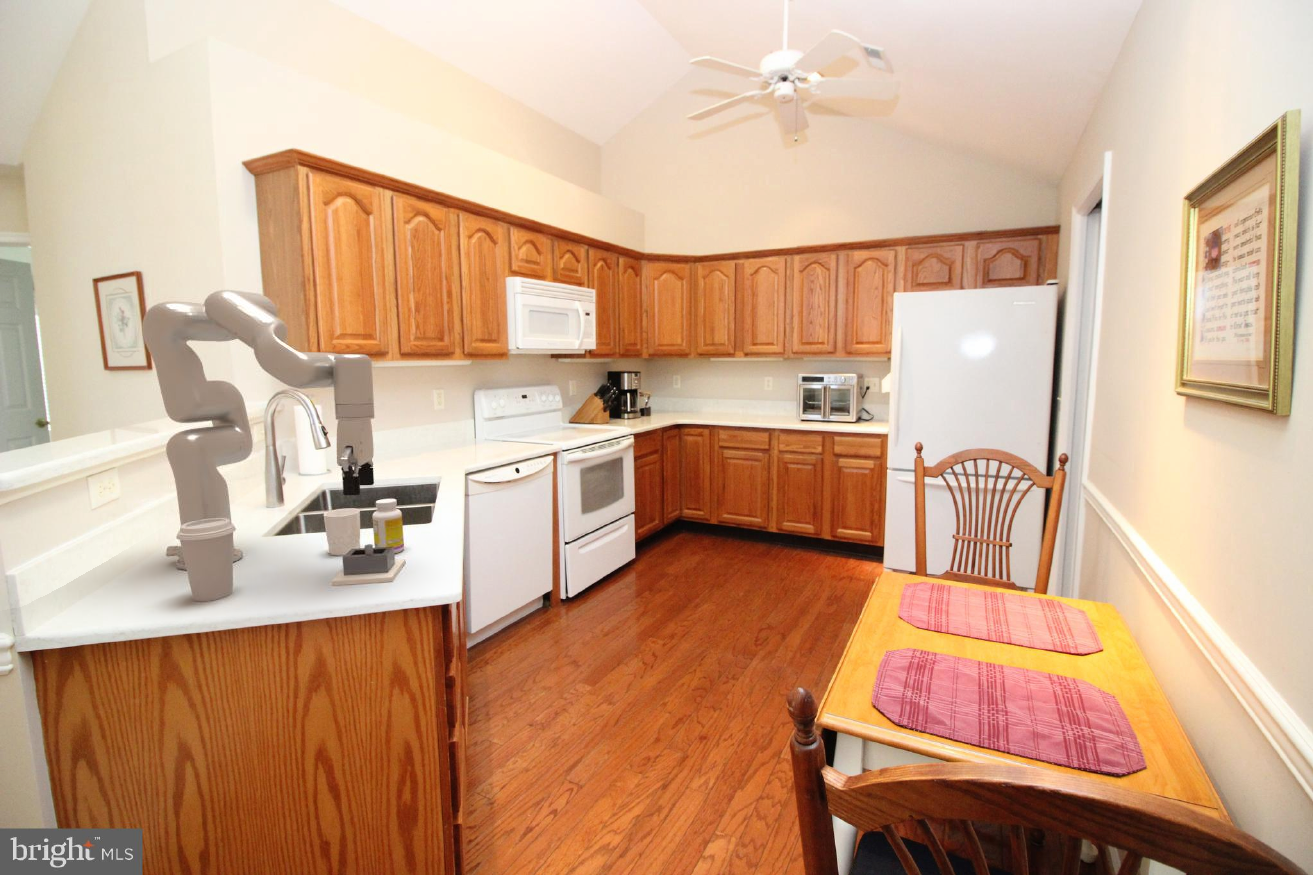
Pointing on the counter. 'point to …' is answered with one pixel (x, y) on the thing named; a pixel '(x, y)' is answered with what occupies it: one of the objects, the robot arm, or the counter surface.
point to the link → (368, 561)
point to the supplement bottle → (388, 525)
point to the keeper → (369, 578)
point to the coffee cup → (208, 557)
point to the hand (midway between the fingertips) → (359, 489)
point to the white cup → (342, 530)
